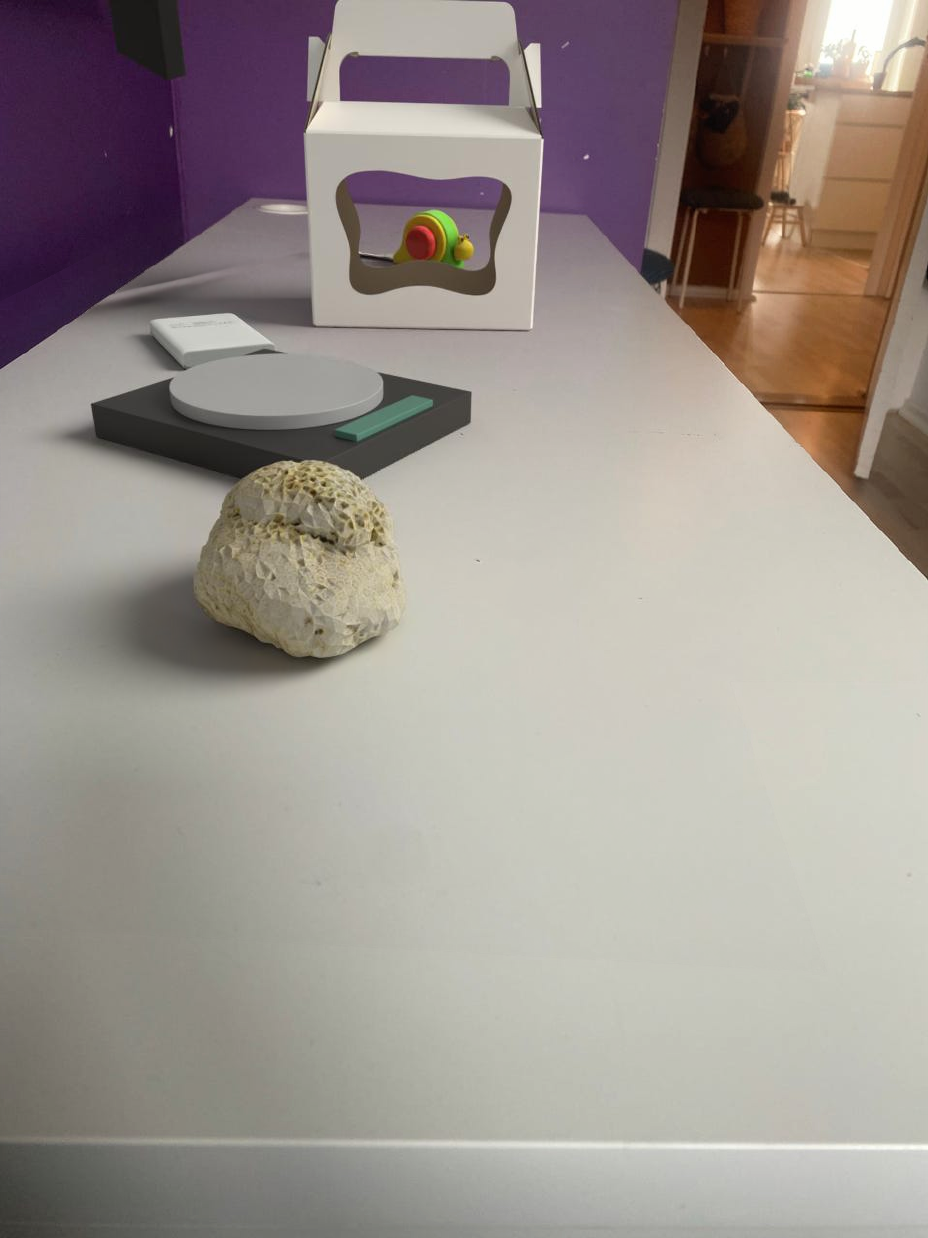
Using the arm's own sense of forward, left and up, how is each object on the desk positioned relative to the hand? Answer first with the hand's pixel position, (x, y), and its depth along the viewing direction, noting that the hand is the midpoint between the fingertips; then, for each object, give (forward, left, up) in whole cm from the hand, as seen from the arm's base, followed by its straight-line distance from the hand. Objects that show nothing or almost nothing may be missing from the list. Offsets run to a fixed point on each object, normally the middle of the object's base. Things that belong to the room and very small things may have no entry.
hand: (308, 20), depth 36 cm
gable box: (-32, +56, -25) cm, 69 cm away
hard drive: (-40, +33, -25) cm, 58 cm away
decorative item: (-2, 0, -25) cm, 25 cm away
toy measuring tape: (-49, +78, -25) cm, 96 cm away
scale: (-20, +20, -25) cm, 38 cm away
